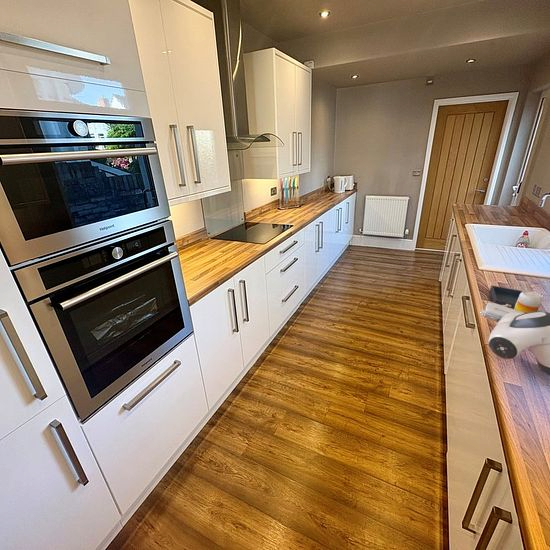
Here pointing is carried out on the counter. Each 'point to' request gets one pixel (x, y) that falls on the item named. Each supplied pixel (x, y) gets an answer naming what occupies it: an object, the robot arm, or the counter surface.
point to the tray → (504, 295)
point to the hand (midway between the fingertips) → (524, 311)
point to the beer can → (528, 302)
